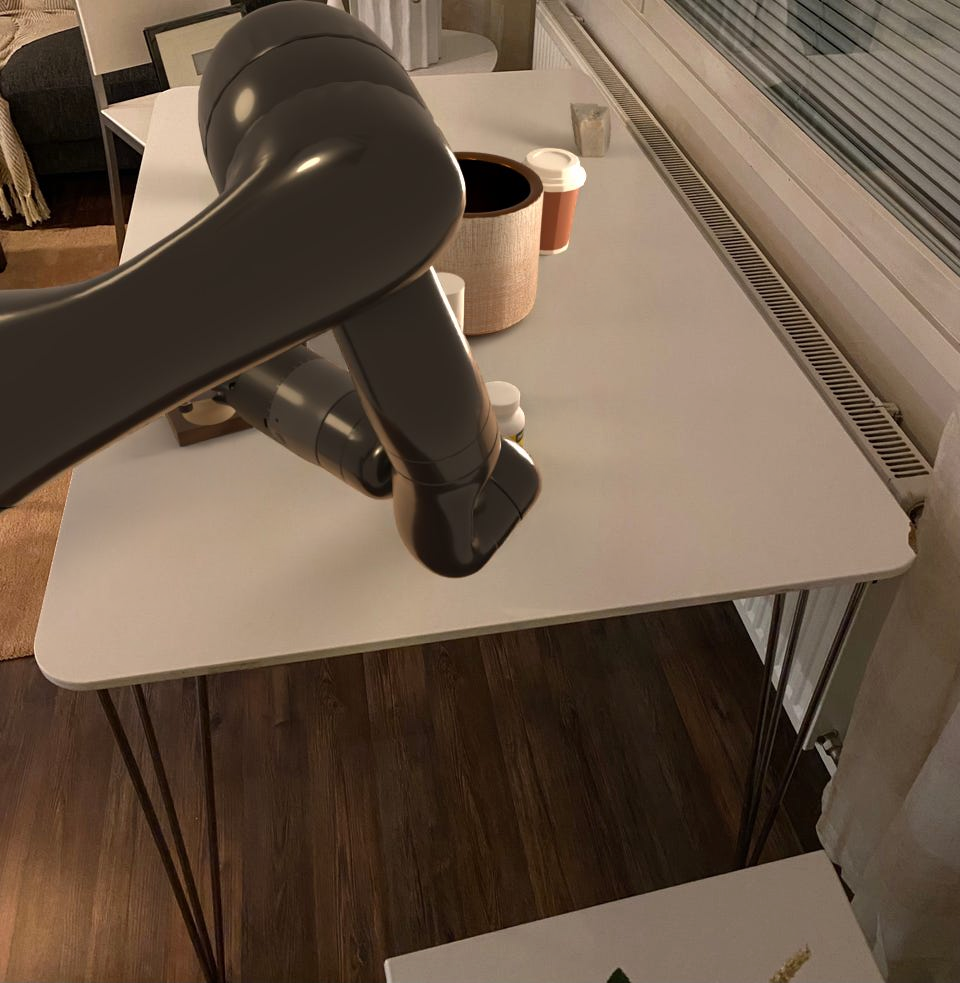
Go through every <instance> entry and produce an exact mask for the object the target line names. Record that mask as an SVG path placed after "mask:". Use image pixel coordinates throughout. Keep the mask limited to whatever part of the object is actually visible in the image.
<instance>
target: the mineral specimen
mask: <svg viewBox="0 0 960 983" xmlns="http://www.w3.org/2000/svg"><path fill="white" fill-rule="evenodd" d="M569 108H570V114H571V116H570V119H571V126H572V130H573V131H572V133H573V138H574V139H573V141H574V144H575V146H576V147H577V149H578V151H579V153H580V155H581V157H583V158H595V157H598V158H603V157H604V156H605V155H606V154H607V152H608V150H609V147H610V143H611V135H612V134H611V132H612V121H611V119H612V118H611V111H610V108H609V107H608V106H605V105H603V106H601V105H600V106H599V105H598V104H597V103H586V102H585V103H582V102H581V103H580V102H575V103H571V102H570V107H569Z"/></svg>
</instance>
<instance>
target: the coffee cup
mask: <svg viewBox="0 0 960 983" xmlns="http://www.w3.org/2000/svg"><path fill="white" fill-rule="evenodd" d="M521 163H522V164H524V165H526V166H528V167H529V168H531V169H532V170H533V171H535V172H536V173H537V174H538V175H539V177H540V178H541V180H542V182H543V186H544V193H543V206H542V219H541V232H540V247H539V255H541V256H554V255H557V254H561V253H563V252H565V251H566V250H567V248H568V246H569V241H570V236H571V231H572V226H573V221H574V215H575V210H576V205H577V200H578V195H579V190H580V187H582V186H584V183H585V182H586V179H587V174H586V173H587V172H586V171H585V169H584V167H583V166H581V164H580V160H579V157H578V156H577V155H576V154H574V153H572V152H571V151H568V150H566V149H563V148H556V147H555V148H554V147H544V148H543V147H542V148H536V149H534V150H531V151H530V152H528V153H527V154H526V155H525V157H524V160H523V161H522V162H521Z"/></svg>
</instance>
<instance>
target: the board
mask: <svg viewBox="0 0 960 983" xmlns="http://www.w3.org/2000/svg"><path fill="white" fill-rule="evenodd" d="M165 417H166V419H167V422H168V424H169V426H170V428H171V430H172V432H173V434H174V437H175V438H176V442H177V444H178V446H179V447H185V446H188V445H193V444H196V443H200V442H205V441H207V440H211V439H214V438H218V437H222V436H226V435H229V434H233V433H236V432H240V431H244V430H247V429H251V428H254V427H253V426H252V425H250V424H249V423H247V422H246V421H245V420H244V419H243V418H242V417H241V416H240V415H239V414H238V413H237V412H236V411H235V413H234V414H233V415H232V416H231V417H230V418H229V419H227V420H225V421H223V422H221V423H218V424H213V425H198V424H194V423H191V422H189V421H187V420H186V419H185V418H184V416H183V414H182V413H180V412H179V411H178V409H177V407H176V408H175V409H173V410H171V411H170V412H168V413H166V414H165Z"/></svg>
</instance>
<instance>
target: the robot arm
mask: <svg viewBox="0 0 960 983" xmlns="http://www.w3.org/2000/svg"><path fill="white" fill-rule="evenodd" d="M197 94H198V95H197V96H198V97H197V124H198V131H199V135H200V141H201V146H202V151H203V155H204V158H205V161H206V164H207V168H208V171H209V173H210V175H211V177H212V179H213V182H214V185H215V188H216V191H217V193H218V196H217V197H216V198H215V199H214V200H213V201H212V202H211V203H210V204H208V205H207V206H206V207H205V208H204V209H202V210H201V211H200V212H199V213H197V214H196V215H194V216H193V217H192V218H191V219H189V220H188V221H187V222H185V223H184V224H183V225H181V226H180V227H179V228H177V229H176V230H174V231H173V232H171V233H170V234H168V235H167V236H165V237H163V238H161V239H160V240H159V241H157V242H155V243H154V244H152V245H151V246H149V247H148V248H146V249H143V251H141V252H140V253H138V254H136V255H135V256H133V257H132V258H129V260H127V261H125V262H123V263H121V264H119V265H118V266H115V267H114V268H112V269H110V270H108V271H106V272H104V273H101V274H98V275H95V276H93V277H90V278H87V279H84V280H80V281H77V282H73V283H69V284H62V285H53V286H45V287H35V288H34V287H33V288H11V289H0V517H2V516H4V515H6V514H8V513H9V512H10V511H12V510H13V509H15V508H17V507H19V506H20V505H22V504H23V503H25V502H26V501H28V500H29V499H30V498H32V497H33V496H35V495H36V494H39V492H41V491H43V490H44V489H46V487H48V486H50V485H51V484H53V483H54V482H56V481H57V480H58V479H60V478H61V477H63V476H64V475H66V474H67V473H69V472H70V471H72V470H74V469H75V468H77V467H78V466H80V465H81V464H84V462H86V461H88V460H89V459H91V458H93V457H95V456H96V455H98V454H99V453H101V452H103V451H104V450H106V449H107V448H110V447H111V446H113V445H115V444H117V443H118V442H120V441H123V439H125V438H127V437H128V436H131V435H132V434H133V433H135V432H137V431H139V430H140V429H143V428H144V427H146V426H148V425H149V424H151V423H153V422H154V421H156V420H158V419H159V418H161V417H163V416H164V415H165V414H166V413H168V412H170V411H171V410H173V409H175V408H176V407H177V409H178V411H179V412H180V413H189V412H191V411H192V410H193V403H194V402H199V401H204V400H208V399H211V400H212V401H213V402H215V403H217V404H220V405H226V406H230V407H232V408H233V409H234V410H235V411H236V412H237V413H238V414H239V415H240V416H241V417H242V418H243V419H244V420H245V421H246V422H247V423H249V424H250V425H252V426H253V427H252V428H255V429H256V430H258V431H259V432H261V433H262V434H264V435H265V436H266V437H268V438H270V439H271V440H273V441H275V442H276V443H277V444H279V445H281V446H282V447H284V448H285V449H287V450H288V451H289V452H291V453H293V454H294V455H296V456H297V457H298V458H300V459H302V460H304V461H307V462H308V463H310V464H313V465H315V466H317V467H319V468H321V469H323V470H324V471H326V472H328V473H329V474H331V475H332V476H334V477H335V478H337V479H338V480H340V481H342V482H343V483H345V484H346V485H348V486H349V487H351V488H352V489H354V490H355V491H357V492H359V493H360V494H362V495H363V496H365V497H367V498H370V499H373V500H376V501H388V500H391V501H392V510H393V511H392V512H393V518H394V523H395V526H396V529H397V532H398V535H399V537H400V539H401V541H402V543H403V545H404V547H405V549H406V550H407V552H408V553H409V555H411V557H412V558H413V559H414V561H416V563H417V564H419V565H420V566H421V567H423V568H424V569H425V570H427V571H428V572H430V573H431V574H434V575H436V576H437V577H441V578H445V579H453V580H455V579H457V580H458V579H464V578H468V577H471V576H473V575H476V574H477V573H478V572H480V571H481V570H482V569H483V568H485V567H486V566H487V565H488V563H489V562H490V561H491V560H492V558H493V557H494V556H495V554H497V552H498V551H499V550H500V549H501V547H502V546H503V545H504V543H505V542H506V541H507V540H508V539H509V537H510V536H511V535H512V533H513V532H514V531H515V530H516V529H517V527H519V525H520V523H521V522H522V521H523V520H524V518H526V517H527V515H528V514H529V513H530V512H531V510H532V509H533V507H534V506H535V505H536V503H537V502H538V499H539V498H540V496H541V493H542V491H543V490H542V488H543V482H542V481H543V479H542V478H543V477H542V474H541V472H540V468H539V467H538V465H537V462H536V460H534V458H533V456H532V454H530V453H529V452H528V450H526V448H524V446H523V447H522V446H521V445H519V444H518V443H516V442H515V441H513V440H512V439H510V438H508V437H506V436H504V435H502V434H500V432H499V427H498V424H497V421H496V417H495V414H494V411H493V408H492V404H491V401H490V398H489V395H488V392H487V389H486V386H485V384H486V383H485V380H484V378H483V375H482V373H481V370H480V367H479V365H478V362H477V359H476V357H475V355H474V352H473V350H472V348H471V345H470V344H469V342H468V340H467V337H466V335H464V333H463V331H462V329H461V326H460V324H459V322H458V320H457V318H456V316H455V314H454V312H453V310H452V307H451V305H450V303H449V301H448V299H447V297H446V294H445V292H444V290H443V288H442V286H441V284H440V281H439V279H438V276H437V274H436V272H435V269H434V267H433V265H434V264H435V263H436V262H437V260H438V259H439V258H440V257H441V256H442V254H443V253H444V252H445V250H446V249H447V248H448V246H449V245H450V244H451V242H452V241H453V239H454V237H455V235H456V234H457V231H458V229H459V227H460V224H461V221H462V218H463V213H464V209H465V204H466V188H465V181H464V178H463V175H462V172H461V169H460V166H459V163H458V161H457V159H456V157H455V155H454V153H453V152H454V151H453V150H452V147H451V145H450V144H449V142H448V140H447V138H446V137H445V135H444V133H443V131H442V130H441V128H440V127H439V126H438V122H437V121H436V119H435V118H434V116H433V114H432V112H431V110H430V109H429V107H428V106H427V104H426V102H425V101H424V99H423V96H422V95H421V94H420V92H419V90H418V89H417V87H416V85H415V83H414V82H413V80H412V79H411V77H410V75H409V73H408V71H407V70H406V69H405V67H404V66H403V64H402V63H401V61H400V60H399V59H398V57H397V55H396V54H395V53H394V52H393V50H392V49H391V48H390V47H389V45H388V44H387V43H386V41H384V40H383V39H382V38H381V37H380V36H379V35H378V34H377V33H376V32H375V31H373V29H371V28H370V27H369V26H368V25H367V24H366V23H365V22H363V21H362V20H360V19H359V18H357V17H355V16H354V15H352V14H351V13H349V12H347V11H345V10H344V9H342V8H338V7H335V6H332V5H330V4H327V3H324V2H317V1H311V0H287V1H279V2H276V3H273V4H269V5H266V6H262V7H260V8H257V9H255V10H254V11H251V12H249V13H248V14H246V15H245V16H243V17H241V18H240V19H239V20H238V21H237V22H235V23H234V24H233V25H232V26H231V27H230V28H228V30H226V31H225V32H224V33H223V35H222V36H221V38H220V39H219V40H218V42H217V43H216V44H215V46H214V47H213V49H212V51H211V53H210V54H209V57H208V59H207V62H206V63H205V65H204V68H203V70H202V75H201V80H200V84H199V88H198V93H197ZM330 331H332V333H333V336H334V338H335V341H336V343H337V346H338V348H339V351H340V353H341V356H342V359H343V361H344V364H345V366H346V368H347V370H346V369H344V368H343V367H341V366H340V365H338V364H336V363H334V362H333V361H331V360H329V359H327V358H326V357H325V356H323V355H321V354H318V352H315V351H313V350H312V349H310V348H309V347H308V342H309V341H311V340H313V339H316V338H317V337H320V336H322V335H323V334H326V333H328V332H330ZM165 416H166V415H165Z"/></svg>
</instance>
